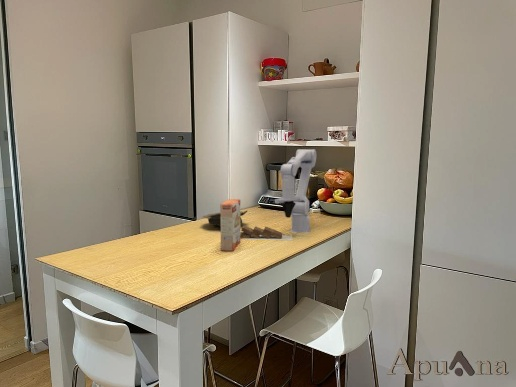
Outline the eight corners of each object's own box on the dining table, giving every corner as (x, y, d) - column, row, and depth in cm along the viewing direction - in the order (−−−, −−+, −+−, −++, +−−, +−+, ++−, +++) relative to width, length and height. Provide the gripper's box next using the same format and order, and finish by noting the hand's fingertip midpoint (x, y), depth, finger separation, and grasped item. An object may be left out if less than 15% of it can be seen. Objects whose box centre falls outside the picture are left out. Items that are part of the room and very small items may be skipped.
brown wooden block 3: (272, 232, 192) (255, 226, 192) (271, 235, 187) (253, 228, 188) (270, 236, 192) (253, 229, 193) (270, 238, 187) (252, 232, 188)
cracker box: (233, 251, 170) (232, 204, 166) (220, 251, 171) (219, 203, 168) (241, 242, 183) (240, 198, 180) (229, 242, 184) (228, 198, 181)
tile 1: (282, 232, 192) (265, 226, 192) (281, 235, 187) (264, 228, 187) (281, 236, 192) (263, 229, 192) (280, 238, 187) (263, 232, 187)
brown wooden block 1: (251, 232, 193) (233, 231, 194) (250, 234, 188) (231, 234, 189) (251, 235, 193) (233, 235, 194) (250, 238, 189) (231, 238, 189)
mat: (292, 236, 193) (292, 235, 193) (291, 241, 185) (291, 240, 184) (246, 235, 196) (246, 234, 196) (243, 240, 187) (243, 239, 187)
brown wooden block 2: (260, 232, 193) (243, 225, 193) (259, 235, 188) (242, 227, 188) (259, 235, 193) (242, 228, 193) (258, 238, 188) (241, 230, 188)
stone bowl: (243, 232, 202) (241, 214, 201) (197, 234, 207) (195, 217, 205) (251, 220, 226) (250, 205, 225) (210, 223, 231) (208, 207, 229)
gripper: (295, 187, 195) (294, 214, 196) (271, 189, 187) (270, 217, 189) (304, 188, 189) (303, 216, 191) (280, 190, 181) (279, 219, 183)
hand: (288, 217), depth 189 cm, fingers closed
